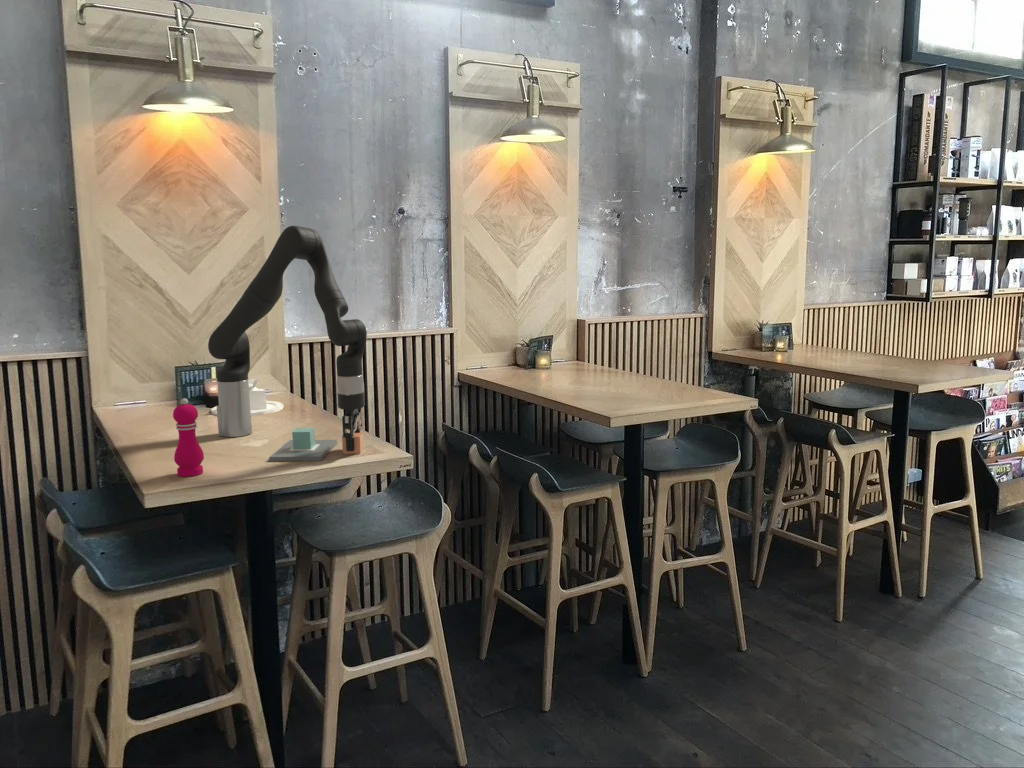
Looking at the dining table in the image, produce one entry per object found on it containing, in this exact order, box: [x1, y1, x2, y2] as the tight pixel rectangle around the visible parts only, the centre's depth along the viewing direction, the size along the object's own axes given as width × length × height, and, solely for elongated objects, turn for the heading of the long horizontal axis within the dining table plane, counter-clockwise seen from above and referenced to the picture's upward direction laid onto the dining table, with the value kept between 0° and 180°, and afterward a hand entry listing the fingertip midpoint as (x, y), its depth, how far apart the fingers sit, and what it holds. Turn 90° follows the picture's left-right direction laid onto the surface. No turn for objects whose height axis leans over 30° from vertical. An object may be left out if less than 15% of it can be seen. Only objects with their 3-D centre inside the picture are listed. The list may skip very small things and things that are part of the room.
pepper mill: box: [172, 397, 205, 478], centre depth 219 cm, size 7×7×20 cm
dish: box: [210, 378, 285, 417], centre depth 305 cm, size 25×25×11 cm
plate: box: [268, 439, 338, 462], centre depth 241 cm, size 14×20×1 cm
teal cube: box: [291, 427, 316, 449], centre depth 241 cm, size 5×5×5 cm
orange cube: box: [341, 432, 365, 455], centre depth 241 cm, size 5×5×5 cm
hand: (353, 447), depth 241 cm, fingers open, 8 cm apart
